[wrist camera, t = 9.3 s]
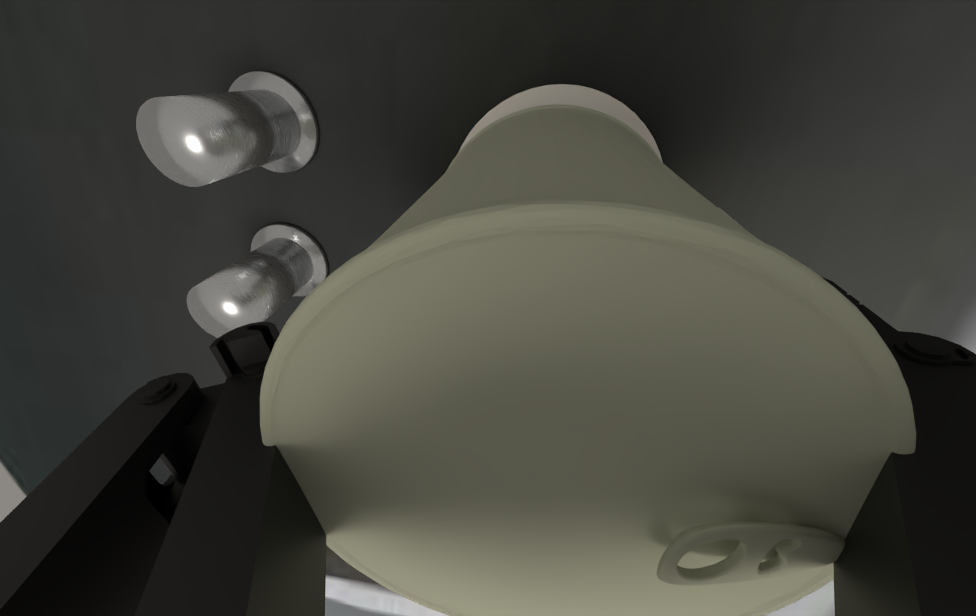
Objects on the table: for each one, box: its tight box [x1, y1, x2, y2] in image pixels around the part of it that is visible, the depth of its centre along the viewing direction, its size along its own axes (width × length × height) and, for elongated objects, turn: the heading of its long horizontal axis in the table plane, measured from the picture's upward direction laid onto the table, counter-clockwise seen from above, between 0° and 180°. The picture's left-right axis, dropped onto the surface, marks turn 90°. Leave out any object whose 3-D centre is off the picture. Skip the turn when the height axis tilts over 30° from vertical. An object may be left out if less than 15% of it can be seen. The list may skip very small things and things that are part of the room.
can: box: [260, 105, 916, 616], centre depth 11 cm, size 9×9×12 cm
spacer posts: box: [136, 71, 329, 338], centre depth 21 cm, size 25×19×6 cm
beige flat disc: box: [459, 84, 663, 163], centre depth 19 cm, size 10×10×1 cm
